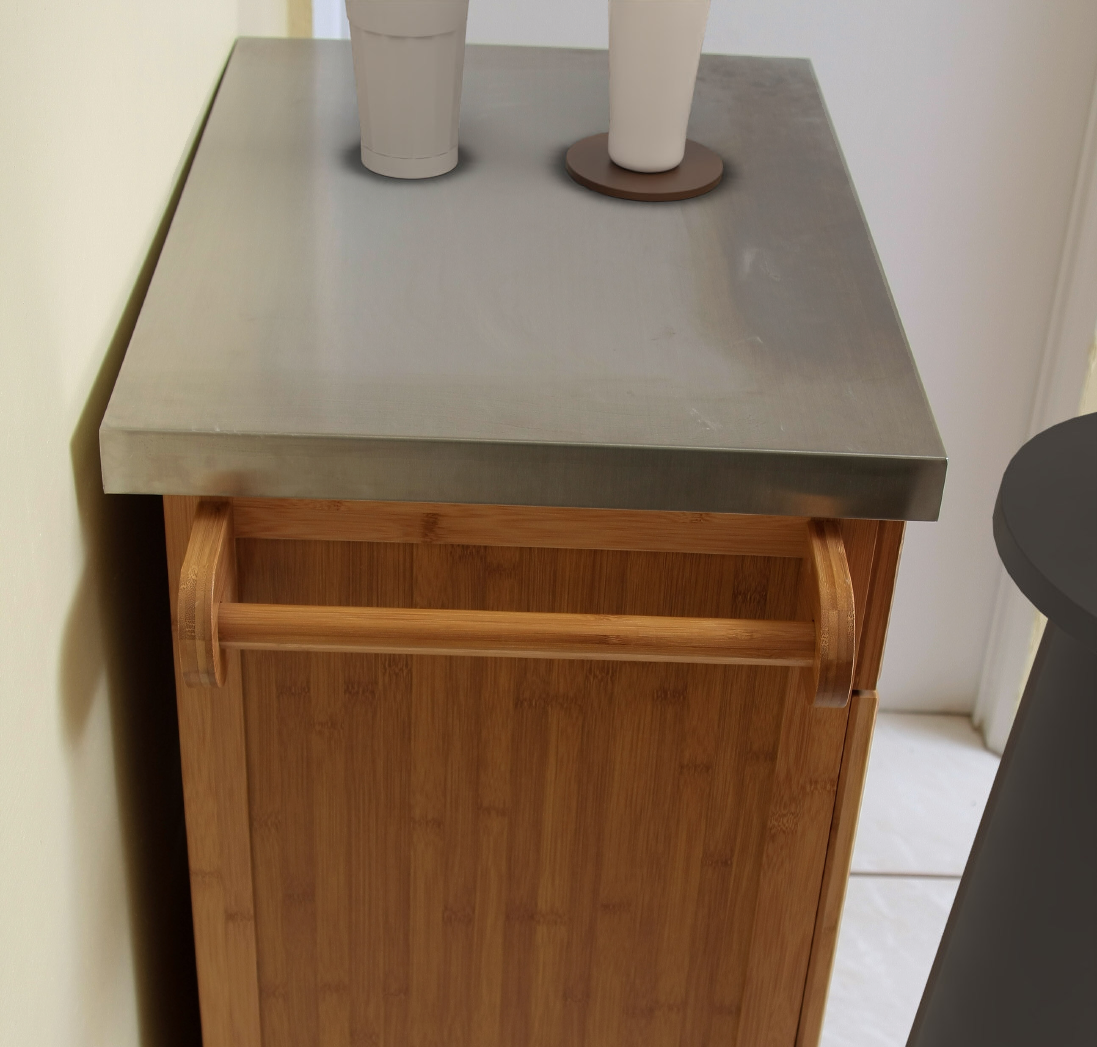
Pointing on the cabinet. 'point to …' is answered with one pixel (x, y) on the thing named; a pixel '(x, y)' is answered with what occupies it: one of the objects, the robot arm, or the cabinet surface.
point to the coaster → (605, 176)
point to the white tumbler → (652, 79)
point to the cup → (408, 83)
